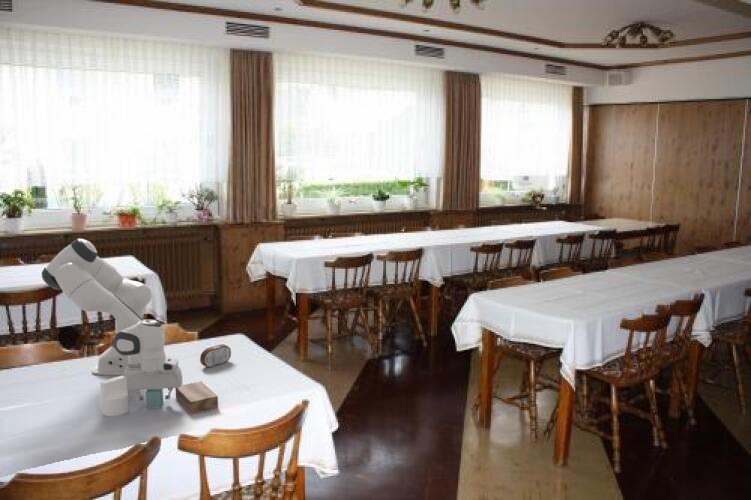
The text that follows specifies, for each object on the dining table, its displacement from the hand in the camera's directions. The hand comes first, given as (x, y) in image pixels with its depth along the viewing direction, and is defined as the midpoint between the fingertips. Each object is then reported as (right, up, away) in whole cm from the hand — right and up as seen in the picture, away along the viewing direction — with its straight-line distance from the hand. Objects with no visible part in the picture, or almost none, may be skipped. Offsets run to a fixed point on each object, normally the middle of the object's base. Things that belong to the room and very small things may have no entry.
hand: (154, 399), depth 233 cm
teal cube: (0, -2, 0) cm, 2 cm away
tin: (+12, +4, +45) cm, 47 cm away
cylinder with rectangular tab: (-12, -3, -5) cm, 14 cm away
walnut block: (+15, -2, +3) cm, 15 cm away
